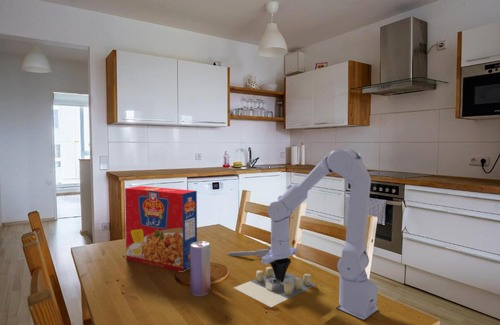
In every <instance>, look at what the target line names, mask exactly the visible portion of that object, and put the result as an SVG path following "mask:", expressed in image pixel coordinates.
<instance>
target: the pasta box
mask: <svg viewBox="0 0 500 325" xmlns="http://www.w3.org/2000/svg"><path fill="white" fill-rule="evenodd" d="M197 193H198V192H197V190H192V189H191V190H189V189H179V188H167V187H158V186H157V187H155V186H147V185H146V186H145V185H138V186H137V185H136V186H132V187H125V188H124V199H125V201H124V203H125V206H124V207H125V250H126V251H125V252H126V254H125V255H126V257H125V259H126V260H127V261H132V262H135V263H140V264H144V265H149V266H153V267H157V268H162V269H166V270H169V271H174V272H177V271H179V270H180V271H184V270H186V269H188V268H190V247H191V244H192V243H193V242H198V217H197V216H198V214H197V213H198V211H197V210H198V206H197V203H198V199H197V198H198V197H197V196H198V195H197Z"/></svg>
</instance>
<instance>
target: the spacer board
mask: <svg viewBox="0 0 500 325" xmlns="http://www.w3.org/2000/svg"><path fill="white" fill-rule="evenodd" d="M302 277H303V278H301V277H299V276H297V275H294V274H291V273H289V272H286V274H285V277H284V281H283V282H282V283H281V287H280V290H276V291H271V290H268V289H266V280H267V279H269V278H275V274H274V271H273V268H272V266H266V267H265V275H264V270H259V269H258V270H256V272H255V278H254V279H252V280H249V281H247V282H244V283H241V284H239V285H236V286H234V287H233V289H235V290H237V291H238V292H240V293H242V294H244V295H246V296H248V297H250V298H252V299H254V300H255V301H258V302H259V303H262V304H264V305H266V306H268V307H269V308H273V307H275V306H277V305H279V304H281V303H283V302H285V301H286V300H289V299H291V298H293V297H295V296H297V295H299V294H301V293H303V292H305V291H307V290H309V289H311V288H314V287H315V286H317V283H315V282H312V275H311V274H310V273H304V274H303V276H302Z"/></svg>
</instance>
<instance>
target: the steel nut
mask: <svg viewBox="0 0 500 325" xmlns="http://www.w3.org/2000/svg"><path fill="white" fill-rule="evenodd" d="M280 287H281V280H279V279H276V278H269V279H267V280H266V289H268V290H271V291H276V290H280Z"/></svg>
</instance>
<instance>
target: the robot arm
mask: <svg viewBox="0 0 500 325" xmlns="http://www.w3.org/2000/svg"><path fill="white" fill-rule="evenodd" d="M334 173H335V174H336V175H339V176H341V177H343V179H344V180H345V182H347V183H348V184H349V185H350V188H349V189H350V190H349V201H348V212H347V221H346V223H347V224H346V232H345V243H344V245H343V248H342V251H341V257H340V258H339V260H338V261H337V264H336V265H337V266H336V268H337V270H338V274H339V284H338V285H339V286H338V287H339V292H338V304H339V305H338V306H337V307H336V309H338V310H340V311H342V312H344V313H347V314H350V315H352V316H354V317H356V318H358V319H360V320H366V319H368V317H370V316H371V315H373V314H374V313H375V312H377V311H378V309H379V308H378V307H377V306H378V287H377V283H376V282H374V281H372V280H371V279H369V277H368V274H367V272H366V270H365V269H366V268H367V267H368V266H369V263H370V258H369V255H368V252H367V248H368V246H367V244H366V235H367V225H368V214H369V205H370V195H371V194H370V193H371V185H372V178H371V176H370V174H369V172H368V169H367V167H366V165H365V163H364V162H363V157H362V156H361V155H360V154H359V153H357V152H356V151H355V150H354V149H351V148H344V149H340V148H336V149H332V150H331V151H330V152H329V153H328V155H326V156H324V157H323V158H322V159H321V160H320V161H319V162H318V164H316V165H315V167H314V168H313V169H312V170H311V171H310V172H308V174H307V175H306V176H305V177H304V178H303V180H302V181H301V182H300V183H293V184H289V185H288V186H287V187H286V188H287V190H286V191H285V192H284V193H283V194H282V195H279V196H278V197H277V201H273V202H271V203H270V205H269V206H268V207H267V208H268V209H267V215H268V217H269V218H270V247H271V250H269V253H268V254H267V255H265V256H263V257H260V258H261V260H260V262H261V264H262V265H264V266H267V265H269V264H270V267H272V268H273V272H274V274H275V278H276V279H279V280H281V283H282V282H283V281H284V277H285V274H286V273H287V270H288V268H289V266H290V265H291V263H292V262H291V261H292V259H291V258H289V257H290V256H293V255H297V254H298V248H296V247H293V246H292V247H290V217H291V216H292V215H293V214H294V211H296V209H297V208H298V207H300V205H301V204H302V203H303V202H304V201H306V199H307V198H308V192H309V190H311V189H312V188H313V187H315V185H317V184H318V183H319V182H320V181H322V179H323V178H324V177H326V176H327V175H330V174H334Z"/></svg>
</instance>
